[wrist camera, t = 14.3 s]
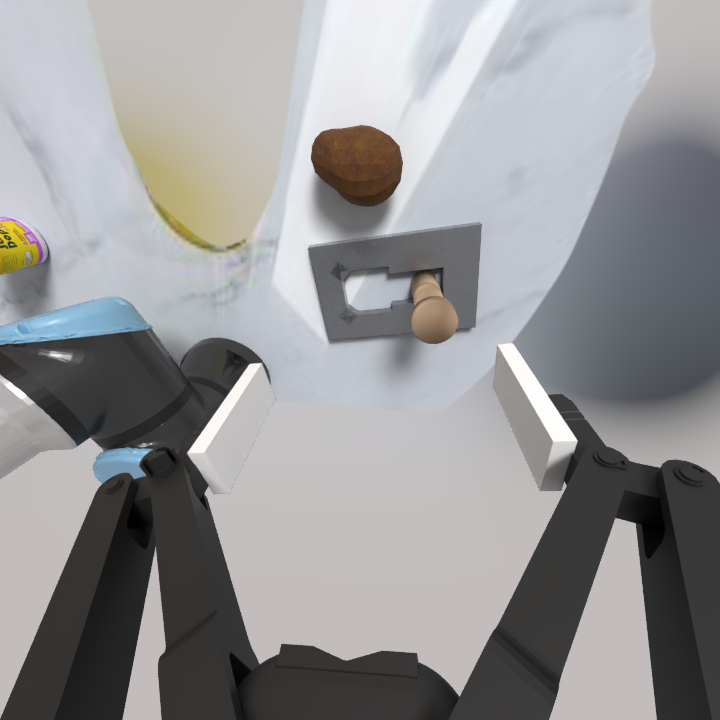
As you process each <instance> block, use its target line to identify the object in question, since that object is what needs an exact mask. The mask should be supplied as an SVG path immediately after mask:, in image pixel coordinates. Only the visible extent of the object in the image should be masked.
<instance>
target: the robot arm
mask: <svg viewBox="0 0 720 720" xmlns="http://www.w3.org/2000/svg"><path fill="white" fill-rule="evenodd" d="M152 328H153V327H152V326H151V325H150V324H148V323H147V322H146V321H145V320H144V319H143V317H142V316H141V315H140V314H139V313H138V311H137V310H136V309H135V307H134V306H133V305H132V304H131V303H130V302H129V301H127V300H125V299H123V298H120V297H105V298H100V299H96V300H92V301H88V302H84V303H80V304H76V305H73V306H69V307H65V308H62V309H58V310H54V311H50V312H47V313H43V314H40V315H36V316H33V317H29V318H26V319H22V320H19V321H16V322H13V323H10V324H6V325H3V326H0V479H2V478H3V477H5V476H6V475H7V474H9V473H10V472H12V471H13V470H15V469H16V468H18V467H19V466H21V465H22V464H24V463H25V462H27V461H28V460H30V459H31V458H33V457H34V456H36V455H37V454H39V453H40V452H44V451H47V450H66V449H74V448H75V447H77V446H79V445H80V444H81V443H83V442H84V441H85V440H87V439H88V438H92V439H93V440H94V441H95V442H96V443H97V444H98V445H99V446H100V447H101V448H102V449H103V452H102V453H100V454H99V455H98V456H97V458H96V461H95V462H94V464H93V470H94V475H95V477H96V478H97V479H98V480H99V481H100V482H101V483H102V485H101V486H100V487H99V489H98V490H97V492H96V494H95V496H94V498H93V501H92V503H91V506H90V508H89V510H88V513H87V515H86V518H85V520H84V522H83V524H82V527H81V529H80V531H79V534H78V536H77V539H76V541H75V543H74V546H73V548H72V550H71V553H70V555H69V558H68V560H67V562H66V565H65V567H64V570H63V572H62V574H61V577H60V579H59V581H58V584H57V586H56V588H55V591H54V593H53V595H52V598H51V600H50V602H49V605H48V607H47V610H46V612H45V614H44V617H43V619H42V622H41V624H40V626H39V629H38V631H37V633H36V636H35V638H34V641H33V643H32V645H31V647H30V650H29V652H28V654H27V657H26V659H25V662H24V664H23V666H22V669H21V671H20V674H19V676H18V678H17V681H16V683H15V685H14V688H13V690H12V692H11V695H10V697H9V700H8V702H7V704H6V707H5V709H4V712H3V714H2V716H1V719H0V720H122V718H123V713H124V708H125V702H126V697H127V692H128V687H129V682H130V677H131V671H132V666H133V661H134V656H135V651H136V645H137V640H138V635H139V630H140V625H141V619H142V613H143V609H144V603H145V598H146V593H147V588H148V582H149V577H150V572H151V566H152V562H153V557H154V551H155V546H156V552H157V562H158V570H159V571H158V572H159V581H160V592H161V602H162V611H163V621H164V631H165V641H166V650H165V652H164V653H163V654H162V655H161V656H160V658H159V662H158V678H159V690H160V703H161V716H162V720H549V718H550V715H551V712H552V709H553V706H554V703H555V700H556V697H557V693H558V689H559V682H560V678H561V675H562V672H563V669H564V666H565V663H566V660H567V657H568V654H569V651H570V648H571V645H572V642H573V640H574V637H575V633H576V631H577V628H578V625H579V622H580V619H581V616H582V613H583V610H584V607H585V605H586V601H587V599H588V596H589V593H590V590H591V587H592V584H593V581H594V578H595V575H596V572H597V570H598V567H599V564H600V561H601V558H602V555H603V552H604V549H605V546H606V543H607V540H608V537H609V535H610V531H611V528H612V525H613V523H614V520H615V518H619V519H622V520H626V521H630V522H633V523H636V529H637V538H638V548H639V557H640V566H641V576H642V584H643V594H644V603H645V612H646V621H647V631H648V640H649V649H650V659H651V668H652V677H653V687H654V696H655V705H656V714H657V720H720V483H719V482H718V481H717V479H716V477H714V476H713V475H712V474H711V473H710V472H708V471H707V470H705V469H703V468H701V467H700V466H698V465H696V464H693V463H690V462H687V461H682V460H668V461H666V462H665V463H663V464H662V466H661V468H658V467H653V466H648V465H643V464H638V463H634V462H631V461H629V460H628V458H627V457H625V456H624V455H623V454H622V453H621V452H619V451H617V450H615V449H613V448H610V447H606V446H605V444H604V443H603V442H602V440H601V439H600V438H599V436H598V435H597V434H596V432H595V431H594V430H593V428H592V427H591V426H590V424H589V423H588V422H587V420H585V418H584V416H583V415H582V414H581V413H580V412H579V410H578V409H577V407H576V406H575V404H574V403H573V402H572V401H571V400H569V399H568V398H566V397H565V396H563V395H562V394H555V395H547V394H546V393H545V391H544V390H543V388H542V387H541V385H540V383H539V382H538V380H537V379H536V377H535V376H534V375H533V373H532V371H531V370H530V368H529V367H528V366H527V364H526V362H525V361H524V359H523V358H522V356H521V355H520V353H519V352H518V351H517V349H516V347H515V346H514V344H513V343H512V344H499V345H497V353H496V362H495V372H494V381H493V388H494V390H495V392H496V394H497V397H498V399H499V401H500V403H501V406H502V408H503V410H504V412H505V415H506V417H507V419H508V421H509V423H510V426H511V428H512V430H513V432H514V434H515V437H516V439H517V441H518V443H519V446H520V448H521V450H522V452H523V455H524V457H525V459H526V461H527V463H528V465H529V468H530V470H531V472H532V475H533V477H534V479H535V481H536V484H537V485H538V488H539V490H540V491H561V490H562V487H563V484H564V481H565V483H566V485H567V487H566V489H565V491H564V493H563V495H562V497H561V499H560V501H559V503H558V505H557V507H556V509H555V511H554V513H553V515H552V517H551V519H550V521H549V523H548V525H547V527H546V529H545V531H544V533H543V535H542V538H541V539H540V541H539V543H538V546H537V548H536V550H535V551H534V554H533V556H532V558H531V560H530V562H529V564H528V566H527V568H526V570H525V572H524V574H523V576H522V578H521V580H520V582H519V584H518V586H517V588H516V590H515V592H514V594H513V596H512V598H511V600H510V602H509V604H508V606H507V608H506V610H505V612H504V614H503V616H502V618H501V620H500V622H499V624H498V626H497V627H496V629H495V630H494V631H493V633H492V634H491V636H490V638H489V640H488V642H487V644H486V646H485V647H484V649H483V652H482V654H481V655H480V658H479V659H478V661H477V663H476V665H475V667H474V670H473V671H472V673H471V675H470V677H469V679H468V682H467V683H466V685H465V688H464V690H463V691H462V693H461V696H460V697H459V696H458V694H457V693H456V692H455V690H454V689H453V688H452V687H451V686H450V685H449V683H448V682H447V681H445V679H444V678H442V677H441V676H440V675H439V674H438V673H436V672H435V671H433V670H432V669H430V668H429V667H427V666H425V665H423V664H421V663H419V662H418V658H417V653H405V652H392V651H380V652H376V653H373V654H370V655H366V656H362V657H359V658H355V659H352V660H348V661H345V660H342V659H340V658H338V657H335V656H333V655H331V654H329V653H327V652H325V651H322V650H320V649H318V648H316V647H314V646H304V645H289V644H281V648H280V653H279V654H278V655H276V656H274V657H272V658H269V659H268V660H266V661H265V662H263V663H262V664H260V665H259V662H258V660H257V658H256V655H255V653H254V652H253V650H252V648H251V645H250V642H249V639H248V636H247V632H246V630H245V626H244V622H243V619H242V616H241V612H240V609H239V605H238V602H237V598H236V595H235V592H234V588H233V585H232V581H231V578H230V574H229V571H228V568H227V564H226V561H225V558H224V554H223V551H222V547H221V544H220V541H219V537H218V534H217V530H216V527H215V524H214V520H213V517H212V513H211V510H210V506H209V503H208V499H207V497H206V496H205V494H204V493H205V491H206V489H207V487H208V486H209V488H210V489H211V491H212V492H213V494H229V493H230V491H231V489H232V487H233V485H234V483H235V481H236V479H237V477H238V475H239V472H240V470H241V469H242V466H243V464H244V462H245V460H246V458H247V456H248V454H249V452H250V450H251V448H252V446H253V444H254V442H255V439H256V438H257V436H258V434H259V432H260V430H261V427H262V426H263V424H264V421H265V419H266V417H267V415H268V413H269V411H270V409H271V407H272V405H273V403H274V401H275V396H274V394H273V391H272V388H271V386H270V376H269V372H268V370H267V368H266V366H265V364H264V363H263V361H262V360H261V359H260V358H259V357H258V356H257V355H256V354H255V353H254V352H253V351H252V350H250V349H249V348H247V347H246V346H244V345H242V344H240V343H238V342H235V341H232V340H229V339H223V338H210V339H205V340H202V341H200V342H198V343H197V344H195V345H194V346H193V347H192V348H191V349H190V350H189V351H188V352H187V353H186V354H185V355H184V357H183V359H182V361H181V364H180V368H179V366H178V365H177V364H176V362H175V361H174V360H173V358H172V357H171V355H170V354H169V353H168V351H167V350H166V348H165V347H164V346H163V344H162V343H161V341H160V340H159V338H158V337H157V335H156V334H155V333H154V331H153V330H152Z"/></svg>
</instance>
